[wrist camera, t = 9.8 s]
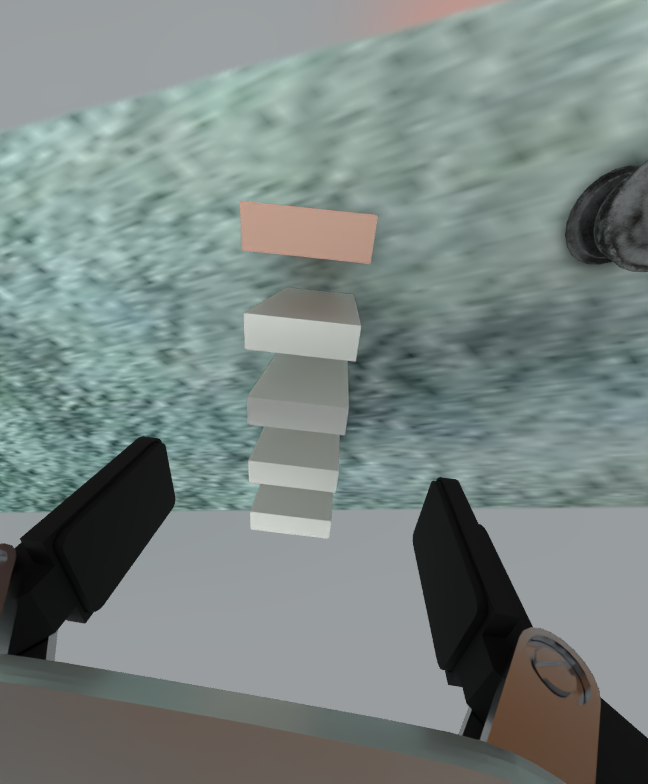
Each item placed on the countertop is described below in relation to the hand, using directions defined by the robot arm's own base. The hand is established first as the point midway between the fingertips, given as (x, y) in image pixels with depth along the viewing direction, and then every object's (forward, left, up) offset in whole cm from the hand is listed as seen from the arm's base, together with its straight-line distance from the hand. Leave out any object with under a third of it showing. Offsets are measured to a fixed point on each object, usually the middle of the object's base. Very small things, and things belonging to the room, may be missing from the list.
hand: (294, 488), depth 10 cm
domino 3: (+1, +4, -15) cm, 15 cm away
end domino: (+1, -8, -15) cm, 17 cm away
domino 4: (+1, +8, -15) cm, 17 cm away
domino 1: (+1, -4, -15) cm, 15 cm away
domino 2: (+1, 0, -15) cm, 15 cm away
